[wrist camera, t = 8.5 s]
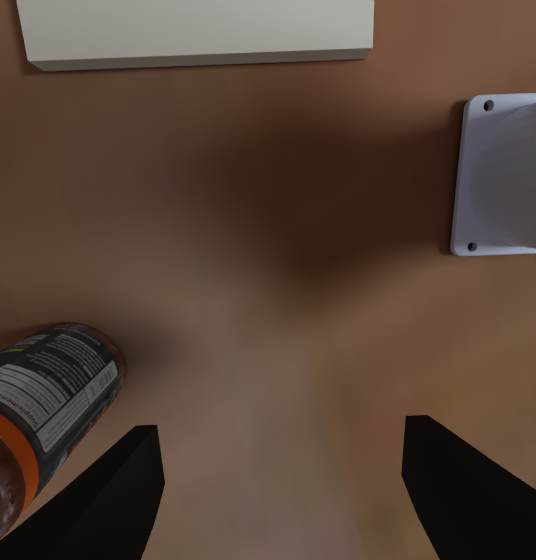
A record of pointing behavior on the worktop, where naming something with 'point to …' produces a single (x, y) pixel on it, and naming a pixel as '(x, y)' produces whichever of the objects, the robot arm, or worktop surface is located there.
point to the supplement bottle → (50, 406)
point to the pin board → (192, 32)
